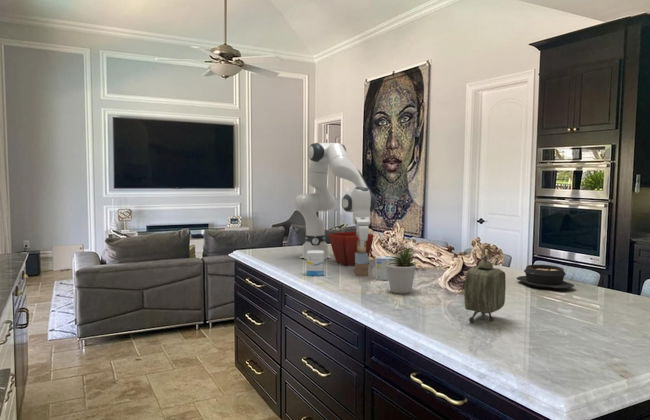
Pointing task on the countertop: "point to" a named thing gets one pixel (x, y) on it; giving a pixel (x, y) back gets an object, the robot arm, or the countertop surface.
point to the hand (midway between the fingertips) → (361, 247)
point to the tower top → (361, 258)
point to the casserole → (545, 277)
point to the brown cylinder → (360, 248)
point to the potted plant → (401, 272)
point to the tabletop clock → (484, 288)
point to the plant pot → (347, 246)
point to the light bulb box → (382, 267)
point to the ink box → (315, 263)
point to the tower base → (361, 269)
